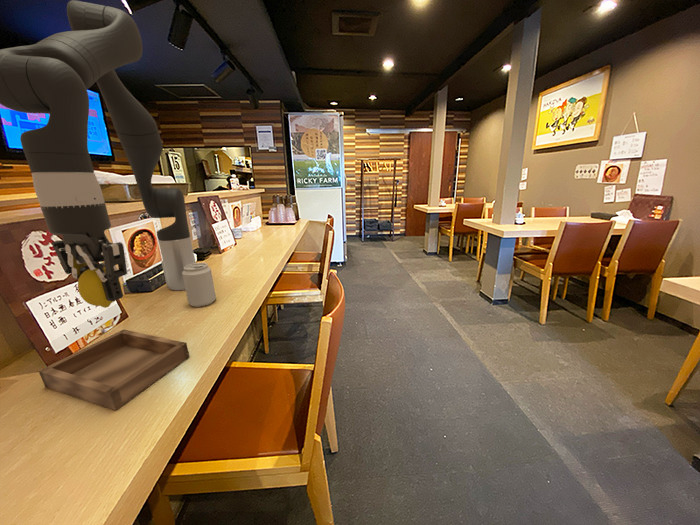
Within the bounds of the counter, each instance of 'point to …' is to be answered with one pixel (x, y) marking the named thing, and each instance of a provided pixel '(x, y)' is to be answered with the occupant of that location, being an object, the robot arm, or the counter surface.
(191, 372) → the counter surface
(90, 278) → the lemon
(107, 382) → the tray
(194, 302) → the can
